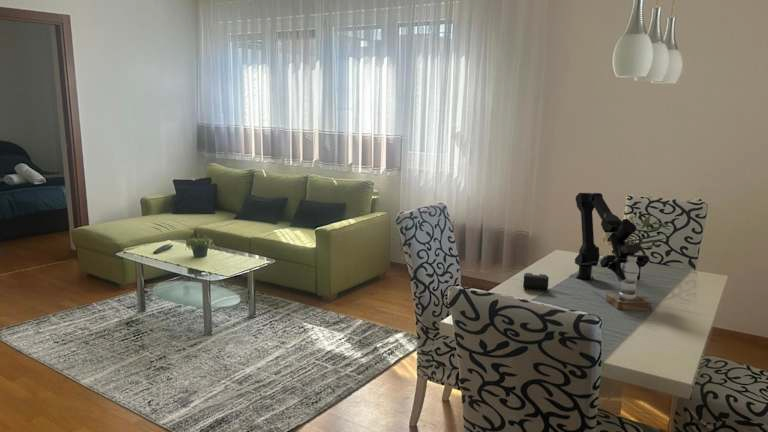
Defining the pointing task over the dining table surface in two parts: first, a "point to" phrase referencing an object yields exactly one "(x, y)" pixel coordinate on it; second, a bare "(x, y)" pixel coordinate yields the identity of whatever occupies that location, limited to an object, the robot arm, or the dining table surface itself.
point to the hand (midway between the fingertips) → (631, 279)
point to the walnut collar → (629, 303)
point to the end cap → (535, 282)
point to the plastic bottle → (629, 279)
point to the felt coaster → (604, 292)
